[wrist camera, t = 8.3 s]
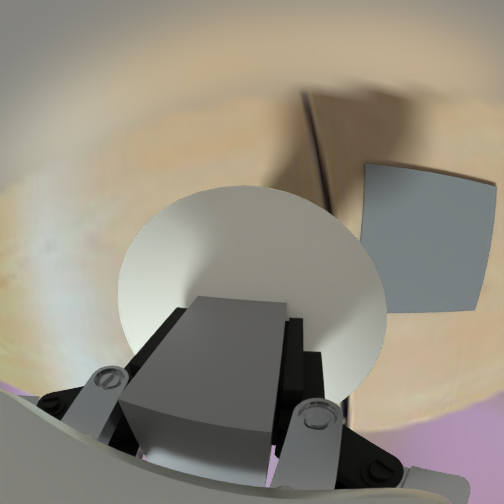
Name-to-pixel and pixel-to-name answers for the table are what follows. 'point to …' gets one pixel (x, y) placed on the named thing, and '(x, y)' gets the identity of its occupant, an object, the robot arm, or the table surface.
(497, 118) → the table surface
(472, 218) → the mat
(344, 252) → the lid
